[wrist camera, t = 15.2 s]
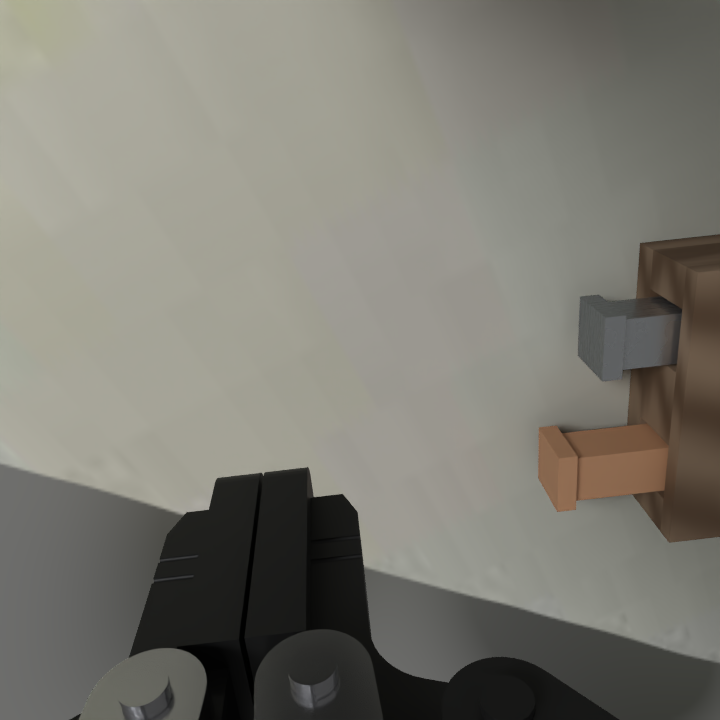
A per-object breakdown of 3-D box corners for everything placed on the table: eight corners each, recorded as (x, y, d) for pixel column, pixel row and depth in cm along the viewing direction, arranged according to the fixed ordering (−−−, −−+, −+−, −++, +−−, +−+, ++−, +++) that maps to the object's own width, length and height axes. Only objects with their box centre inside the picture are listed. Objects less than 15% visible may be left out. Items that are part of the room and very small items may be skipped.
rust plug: (538, 427, 46) (558, 458, 42) (730, 405, 46) (767, 434, 42) (538, 477, 47) (557, 511, 44) (724, 456, 47) (758, 488, 44)
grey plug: (579, 296, 42) (605, 317, 38) (787, 274, 42) (832, 292, 39) (577, 355, 44) (602, 381, 40) (777, 333, 44) (820, 356, 40)
